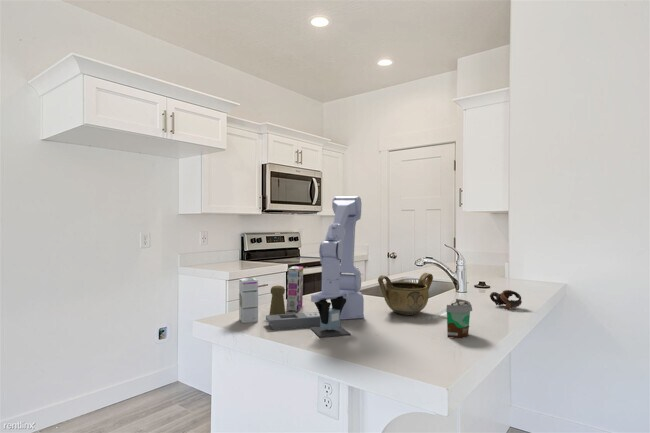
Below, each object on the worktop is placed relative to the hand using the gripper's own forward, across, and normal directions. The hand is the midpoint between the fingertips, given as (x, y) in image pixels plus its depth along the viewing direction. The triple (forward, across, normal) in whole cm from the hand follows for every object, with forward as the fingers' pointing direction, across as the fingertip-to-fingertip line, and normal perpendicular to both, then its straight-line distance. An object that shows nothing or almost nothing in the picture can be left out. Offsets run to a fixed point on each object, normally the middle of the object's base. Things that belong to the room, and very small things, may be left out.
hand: (330, 322), depth 123 cm
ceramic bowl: (+3, -39, +1) cm, 40 cm away
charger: (+2, 0, 0) cm, 2 cm away
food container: (+3, -28, +29) cm, 41 cm away
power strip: (+3, +1, -12) cm, 13 cm away
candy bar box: (+3, -12, -33) cm, 35 cm away
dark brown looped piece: (+3, -79, +21) cm, 82 cm away
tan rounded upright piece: (+3, 0, -28) cm, 28 cm away
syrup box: (+3, +12, -29) cm, 31 cm away
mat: (+3, 0, 0) cm, 3 cm away
